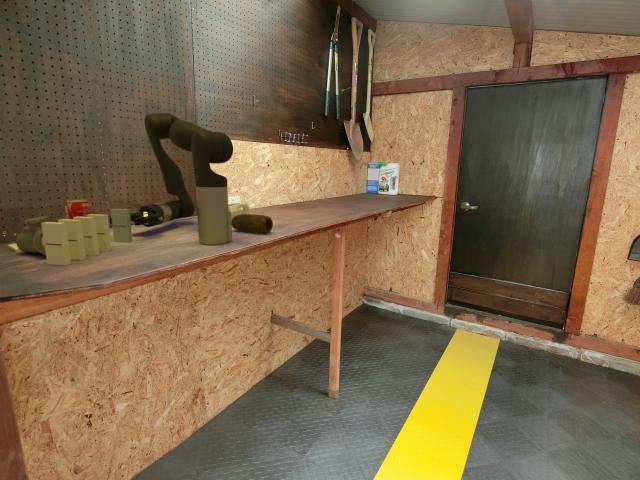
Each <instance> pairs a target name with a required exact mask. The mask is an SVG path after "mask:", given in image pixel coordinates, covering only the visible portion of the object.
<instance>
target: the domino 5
mask: <svg viewBox="0 0 640 480" xmlns="http://www.w3.org/2000/svg"><path fill="white" fill-rule="evenodd" d="M110 213H111V216H110V217H112V224H111V226H112V232H113V233H112V234H113V242H116V243H132V242H133V236H132V232H133V231H132V223H131V222H130V221H131V218H130V213H131V211H130V209H129V208H128V209H127V208H111V209H110Z"/></svg>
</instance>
